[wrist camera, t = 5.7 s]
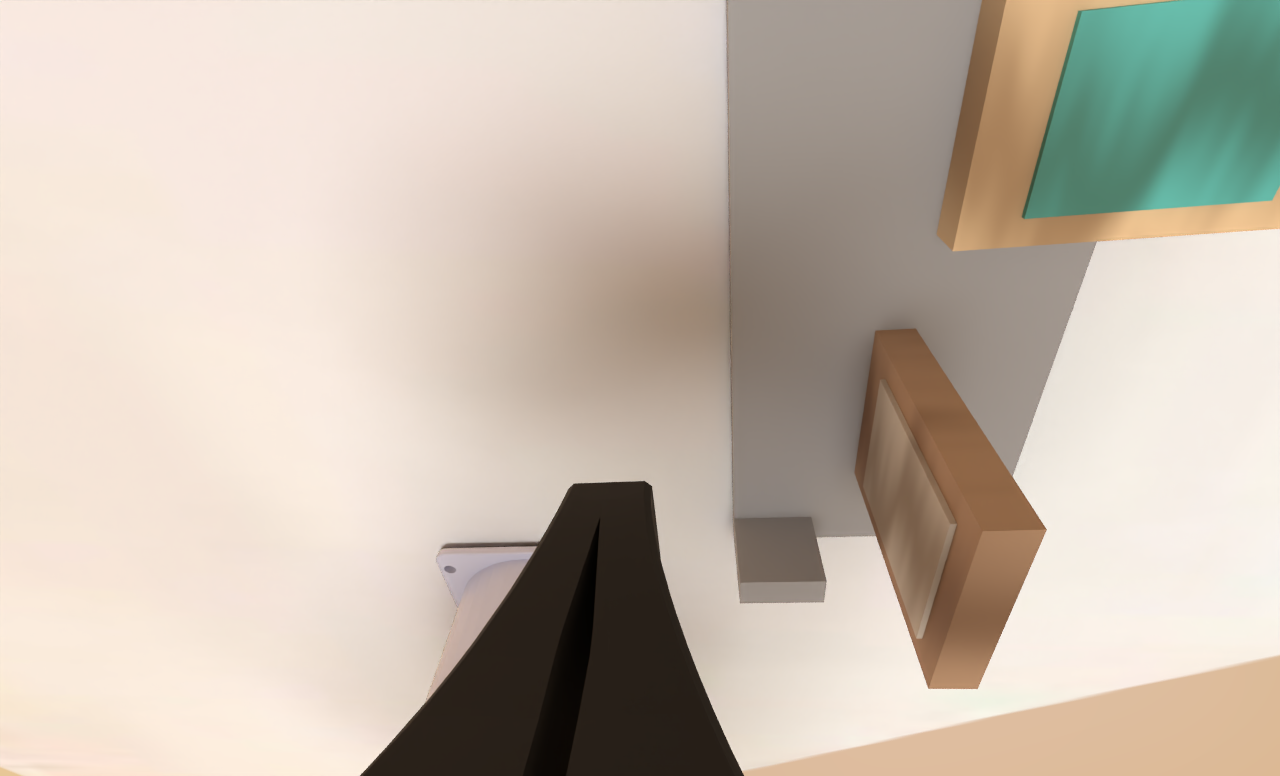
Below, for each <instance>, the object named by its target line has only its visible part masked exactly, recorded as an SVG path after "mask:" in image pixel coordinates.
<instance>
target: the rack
mask: <svg viewBox="0 0 1280 776" xmlns="http://www.w3.org/2000/svg"><path fill="white" fill-rule="evenodd" d="M981 3H982V0H727V76H728V155H729V233H730V312H731V390H732V469H733V532H734V543H735V553H736V564H737V575H738V585H739V596H740V603H794V602H824V597H825V589H826V577H825V573H824V569H823V565H822V560H821V556H820V552H819V548H818V543H817V539H816V537H845V536H876V534H875V531H874V528H873V526H872V523H871V520H870V517H869V514H868V511H867V508H866V505H865V502H864V499H863V496H862V493H861V491H860V488H859V485H858V482H857V479H856V476H855V473H854V472H855V465H856V458H857V451H858V445H859V438H860V431H861V424H862V418H863V411H864V404H865V397H866V391H867V384H868V377H869V370H870V364H871V357H872V350H873V343H874V337H875V331H878V330H896V329H914V328H916V330H917V331H918V333H919V334H920V336H921V337H922V339H923V340H924V342H925V343H926V345H927V346H928V348H929V350H930V351H931V353H932V354H933V356H934V357H935V359H936V360H937V362H938V363H939V365H940V366H941V368H942V370H943V371H944V373H945V374H946V376H947V377H948V379H949V380H950V382H951V383H952V385H953V386H954V388H955V390H956V391H957V393H958V394H959V396H960V397H961V399H962V400H963V402H964V403H965V405H966V406H967V408H968V410H969V411H970V413H971V414H972V416H973V417H974V419H975V420H976V422H977V423H978V425H979V426H980V428H981V430H982V431H983V433H984V434H985V436H986V437H987V439H988V440H989V442H990V443H991V445H992V446H993V448H994V450H995V451H996V453H997V454H998V456H999V457H1000V459H1001V460H1002V462H1003V463H1004V465H1005V466H1006V468H1007V470H1008V471H1009V473H1010V474H1011V476H1013V474H1014V471H1015V468H1016V465H1017V462H1018V460H1019V457H1020V454H1021V451H1022V448H1023V446H1024V443H1025V440H1026V437H1027V435H1028V432H1029V429H1030V426H1031V423H1032V421H1033V418H1034V415H1035V412H1036V409H1037V407H1038V404H1039V401H1040V398H1041V395H1042V393H1043V390H1044V387H1045V384H1046V382H1047V379H1048V376H1049V373H1050V370H1051V368H1052V365H1053V362H1054V359H1055V356H1056V354H1057V351H1058V348H1059V345H1060V343H1061V340H1062V337H1063V334H1064V331H1065V329H1066V326H1067V323H1068V320H1069V317H1070V315H1071V312H1072V309H1073V306H1074V303H1075V301H1076V298H1077V295H1078V292H1079V290H1080V287H1081V284H1082V281H1083V278H1084V276H1085V273H1086V270H1087V267H1088V264H1089V262H1090V259H1091V256H1092V253H1093V251H1094V248H1095V245H1096V242H1097V241H1095V242H1081V243H1067V244H1052V245H1038V246H1024V247H1010V248H995V249H981V250H967V251H952V250H951V249H950V248H949V247H948V246H947V245H946V244H945V243H944V242H943V241H942V240H941V239H940V238H939V237H938V236H937V230H938V224H939V219H940V214H941V209H942V204H943V199H944V193H945V188H946V183H947V178H948V173H949V168H950V163H951V157H952V152H953V147H954V142H955V137H956V132H957V126H958V121H959V116H960V111H961V106H962V101H963V95H964V90H965V85H966V80H967V75H968V70H969V65H970V59H971V54H972V49H973V44H974V39H975V34H976V28H977V23H978V18H979V13H980V8H981Z"/></svg>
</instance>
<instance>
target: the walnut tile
mask: <svg viewBox="0 0 1280 776" xmlns="http://www.w3.org/2000/svg"><path fill="white" fill-rule="evenodd" d="M854 473H855V476H856V479H857V482H858V485H859V488H860V491H861V493H862V496H863V499H864V502H865V505H866V508H867V511H868V514H869V517H870V520H871V523H872V526H873V528H874V531H875V534H876V537H877V540H878V543H879V546H880V549H881V552H882V555H883V558H884V560H885V563H886V566H887V569H888V572H889V575H890V578H891V581H892V584H893V587H894V590H895V593H896V595H897V598H898V601H899V604H900V607H901V610H902V613H903V616H904V619H905V622H906V625H907V628H908V630H909V633H910V636H911V639H912V642H913V645H914V648H915V651H916V654H917V657H918V660H919V662H920V665H921V668H922V671H923V674H924V677H925V680H926V683H927V686H928V689H978V686H979V684H980V682H981V680H982V677H983V675H984V673H985V670H986V668H987V666H988V663H989V661H990V659H991V657H992V654H993V652H994V650H995V647H996V645H997V643H998V640H999V638H1000V636H1001V634H1002V631H1003V629H1004V627H1005V624H1006V622H1007V620H1008V617H1009V615H1010V613H1011V611H1012V608H1013V606H1014V604H1015V601H1016V599H1017V597H1018V595H1019V592H1020V590H1021V588H1022V585H1023V583H1024V581H1025V578H1026V576H1027V574H1028V572H1029V569H1030V567H1031V565H1032V562H1033V560H1034V558H1035V555H1036V553H1037V551H1038V549H1039V546H1040V544H1041V542H1042V539H1043V537H1044V535H1045V532H1046V530H1047V529H1046V528H1045V526H1044V525H1043V523H1042V522H1041V520H1040V519H1039V517H1038V516H1037V514H1036V513H1035V511H1034V509H1033V508H1032V506H1031V505H1030V503H1029V502H1028V500H1027V499H1026V497H1025V496H1024V494H1023V493H1022V491H1021V489H1020V488H1019V486H1018V485H1017V483H1016V482H1015V480H1014V479H1013V477H1012V476H1011V474H1010V473H1009V471H1008V470H1007V468H1006V466H1005V465H1004V463H1003V462H1002V460H1001V459H1000V457H999V456H998V454H997V453H996V451H995V450H994V448H993V446H992V445H991V443H990V442H989V440H988V439H987V437H986V436H985V434H984V433H983V431H982V430H981V428H980V426H979V425H978V423H977V422H976V420H975V419H974V417H973V416H972V414H971V413H970V411H969V410H968V408H967V406H966V405H965V403H964V402H963V400H962V399H961V397H960V396H959V394H958V393H957V391H956V390H955V388H954V386H953V385H952V383H951V382H950V380H949V379H948V377H947V376H946V374H945V373H944V371H943V370H942V368H941V366H940V365H939V363H938V362H937V360H936V359H935V357H934V356H933V354H932V353H931V351H930V350H929V348H928V346H927V345H926V343H925V342H924V340H923V339H922V337H921V336H920V334H919V333H918V331H917V330H916V328H914V329H896V330H878V331H875V337H874V343H873V350H872V357H871V364H870V370H869V377H868V384H867V391H866V397H865V404H864V411H863V418H862V424H861V431H860V438H859V445H858V451H857V458H856V465H855V472H854Z"/></svg>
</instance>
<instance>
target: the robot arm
mask: <svg viewBox="0 0 1280 776" xmlns="http://www.w3.org/2000/svg"><path fill="white" fill-rule="evenodd" d="M436 562H437V564H438V566H439V568H440V571H441V573H442V575H443V577H444V579H445V581H446V584H447V586H448V588H449V590H450V592H451V595H452V597H453V599H454V601H455V603H456V606H457V608H458V610H457V613H456V615H455V618H454V621H453V624H452V627H451V630H450V633H449V636H448V638H447V641H446V644H445V647H444V650H443V653H442V656H441V659H440V661H439V664H438V667H437V670H436V673H435V676H434V679H433V682H432V685H431V687H430V690H429V693H428V696H427V699H426V702H425V704H424V705H423V706H422V707H421V708H420V710H419V711H418V712H417V713H416V714H415V715H414V716H413V718H412V719H411V720H410V721H409V722H408V723H407V724H406V726H405V727H404V728H403V729H402V730H401V731H400V732H399V734H398V735H397V736H396V737H395V738H394V739H393V740H392V742H391V743H390V744H389V745H388V746H387V747H386V748H385V749H384V750H383V752H382V753H381V754H380V755H379V756H378V757H377V758H376V759H375V760H374V761H373V762H372V764H371V765H370V766H369V767H368V768H367V769H366V770H365V771H364V772H363V773H362V774H361V775H360V776H744V775H743V773H742V771H741V769H740V767H739V765H738V763H737V761H736V758H735V756H734V754H733V752H732V750H731V748H730V746H729V744H728V742H727V739H726V737H725V735H724V733H723V730H722V728H721V726H720V724H719V721H718V719H717V717H716V715H715V712H714V710H713V708H712V705H711V703H710V701H709V698H708V696H707V694H706V691H705V689H704V686H703V684H702V682H701V679H700V677H699V674H698V672H697V669H696V667H695V664H694V661H693V659H692V656H691V654H690V651H689V648H688V646H687V643H686V640H685V637H684V634H683V632H682V629H681V626H680V623H679V620H678V617H677V614H676V611H675V608H674V605H673V602H672V599H671V596H670V592H669V589H668V585H667V581H666V578H665V574H664V571H663V567H662V564H661V560H660V550H659V541H658V533H657V525H656V516H655V508H654V500H653V491H652V486H651V485H649V484H648V483H647V482H645V481H637V482H607V483H578V484H573V485H572V486H571V487H570V488H569V489H568V491H567V493H566V495H565V497H564V499H563V501H562V503H561V505H560V507H559V509H558V511H557V512H556V514H555V516H554V518H553V520H552V522H551V523H550V525H549V527H548V529H547V530H546V532H545V534H544V535H543V537H542V539H541V541H540V542H539V544H538V546H527V547H480V548H445V549H441V550H440V551H439V553H438V555H437V557H436Z"/></svg>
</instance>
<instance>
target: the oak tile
mask: <svg viewBox="0 0 1280 776" xmlns="http://www.w3.org/2000/svg"><path fill="white" fill-rule="evenodd" d="M1267 229H1280V0H982V3H981V8H980V13H979V18H978V23H977V28H976V34H975V39H974V44H973V49H972V54H971V59H970V65H969V70H968V75H967V80H966V85H965V90H964V95H963V101H962V106H961V111H960V116H959V121H958V126H957V132H956V137H955V142H954V147H953V152H952V157H951V163H950V168H949V173H948V178H947V183H946V188H945V193H944V199H943V204H942V209H941V214H940V219H939V224H938V230H937V236H938V237H939V238H940V239H941V240H942V241H943V242H944V243H945V244H946V245H947V246H948V247H949V248H950V249H951V250H952V251H967V250H981V249H995V248H1010V247H1024V246H1038V245H1052V244H1067V243H1081V242H1095V241H1110V240H1124V239H1138V238H1153V237H1167V236H1181V235H1195V234H1210V233H1224V232H1238V231H1253V230H1267Z"/></svg>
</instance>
